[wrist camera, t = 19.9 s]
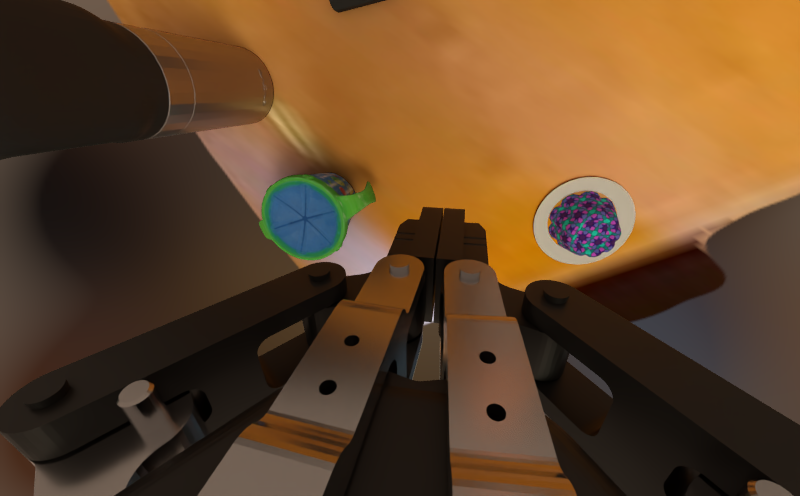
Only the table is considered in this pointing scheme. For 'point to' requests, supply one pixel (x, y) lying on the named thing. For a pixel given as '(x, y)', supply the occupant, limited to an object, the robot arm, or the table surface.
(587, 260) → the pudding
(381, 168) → the table surface
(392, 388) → the robot arm
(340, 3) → the smart home device
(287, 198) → the snack cup
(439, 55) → the table surface
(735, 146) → the table surface
